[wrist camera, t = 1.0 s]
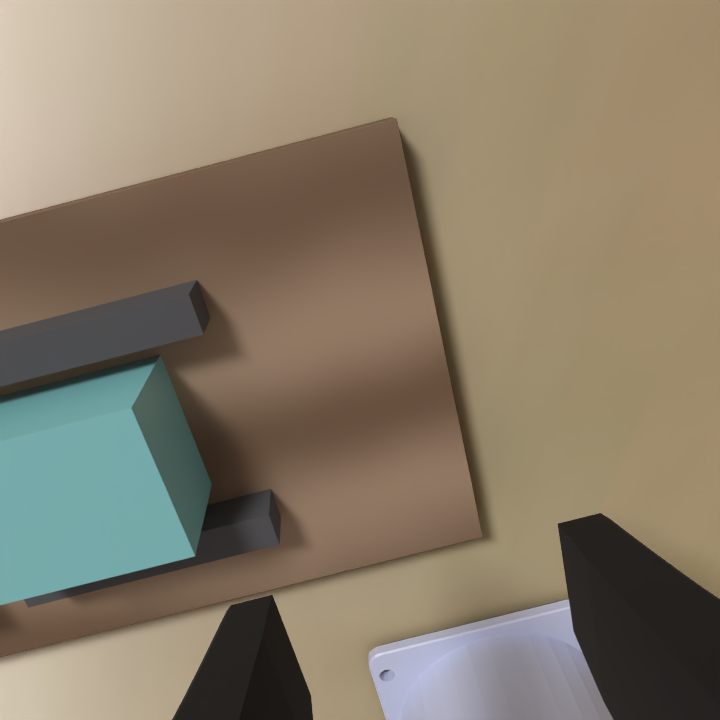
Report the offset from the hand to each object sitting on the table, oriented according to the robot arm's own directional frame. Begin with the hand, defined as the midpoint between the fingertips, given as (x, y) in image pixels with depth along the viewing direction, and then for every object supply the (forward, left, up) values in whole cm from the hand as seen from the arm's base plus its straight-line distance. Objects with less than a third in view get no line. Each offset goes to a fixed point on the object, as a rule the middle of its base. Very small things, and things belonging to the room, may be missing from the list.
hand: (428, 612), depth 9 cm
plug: (0, +7, -8) cm, 11 cm away
